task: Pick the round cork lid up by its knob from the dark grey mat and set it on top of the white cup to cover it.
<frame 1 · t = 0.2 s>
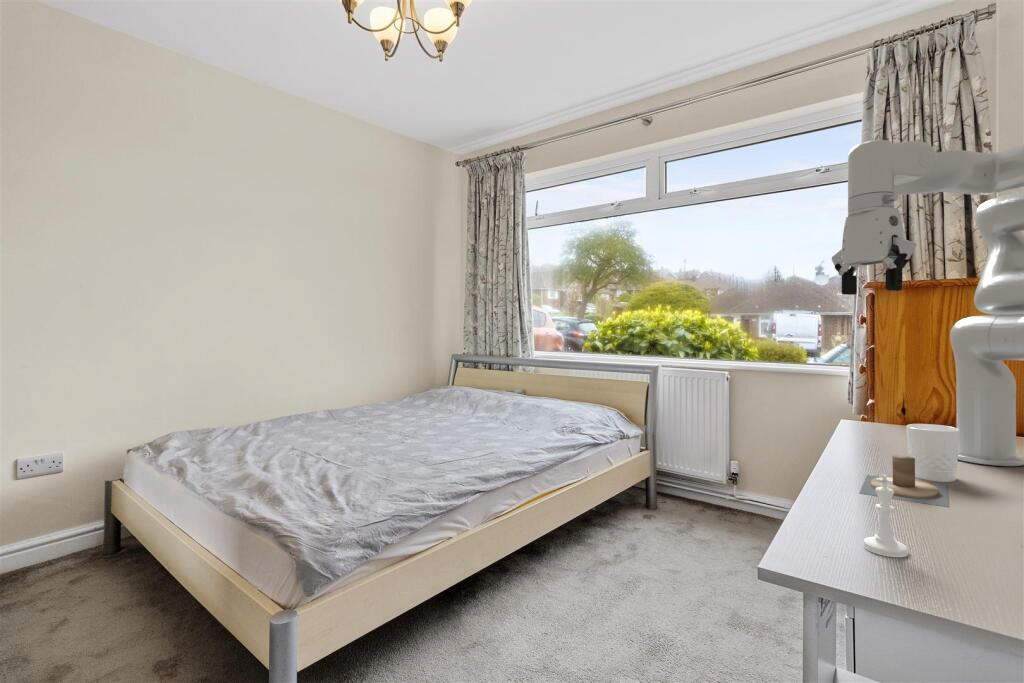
hand: (870, 292, 101), 37 cm above the table, tool pointing down, fingers open, 9 cm apart
mat: (903, 491, 91), on the table
chess piece: (885, 551, 67), on the table
lid: (903, 489, 91), resting on mat
white cup: (932, 479, 98), on the table
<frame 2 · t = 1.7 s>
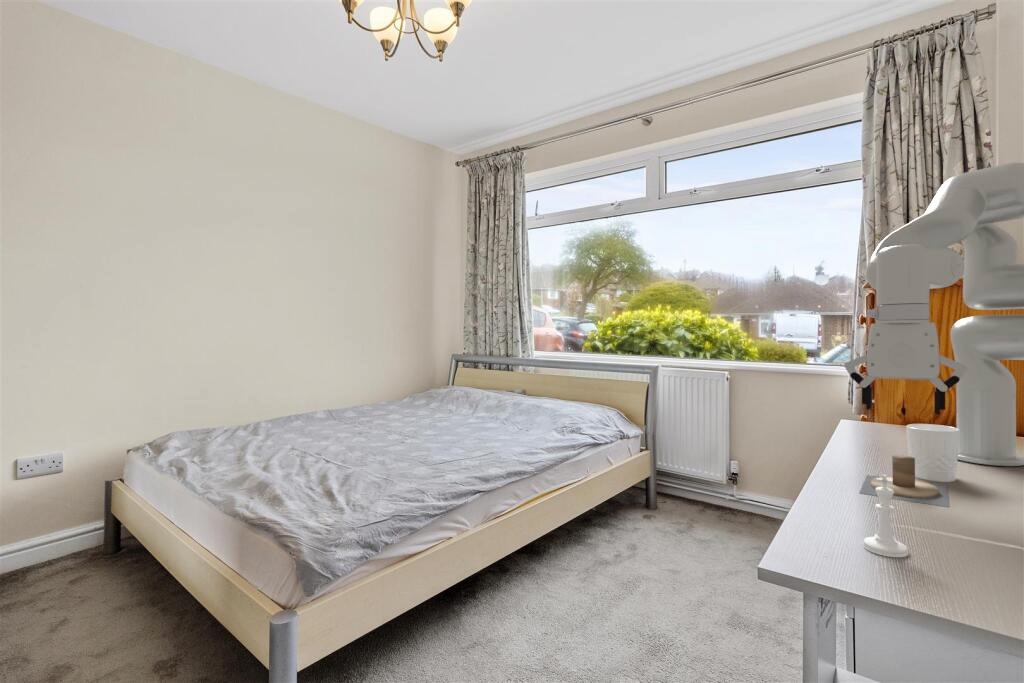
hand: (902, 411, 90), 15 cm above the table, tool pointing down, fingers open, 9 cm apart
nothing on the table moved.
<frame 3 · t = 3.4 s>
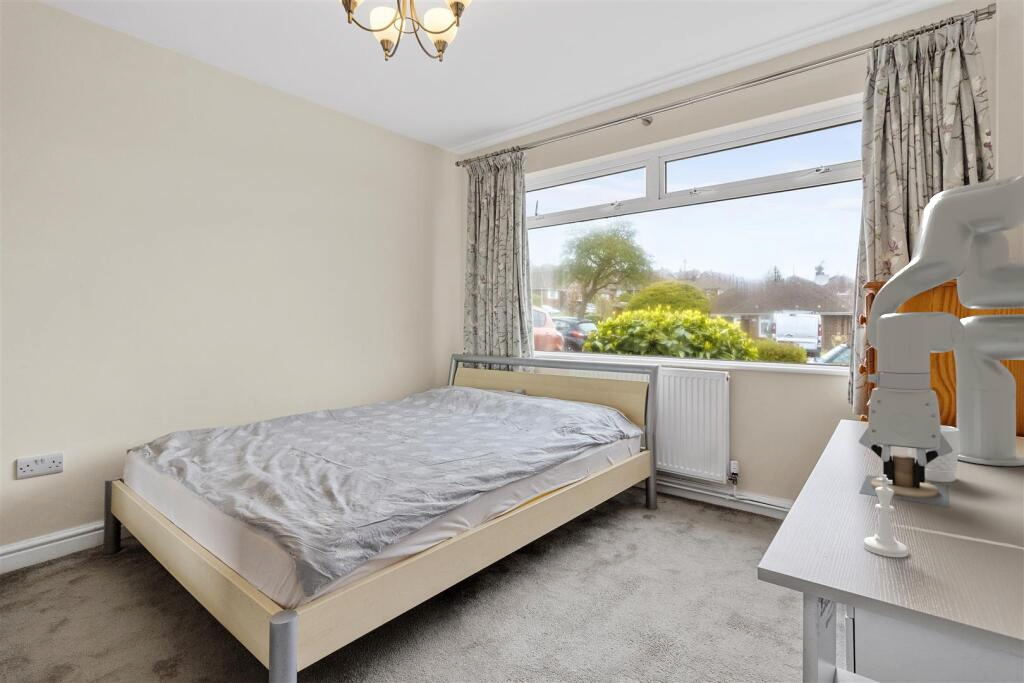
hand: (903, 483, 91), 1 cm above the table, tool pointing down, fingers closed on lid, 3 cm apart
lid: (903, 489, 91), resting on mat, touching gripper
everything else where it was.
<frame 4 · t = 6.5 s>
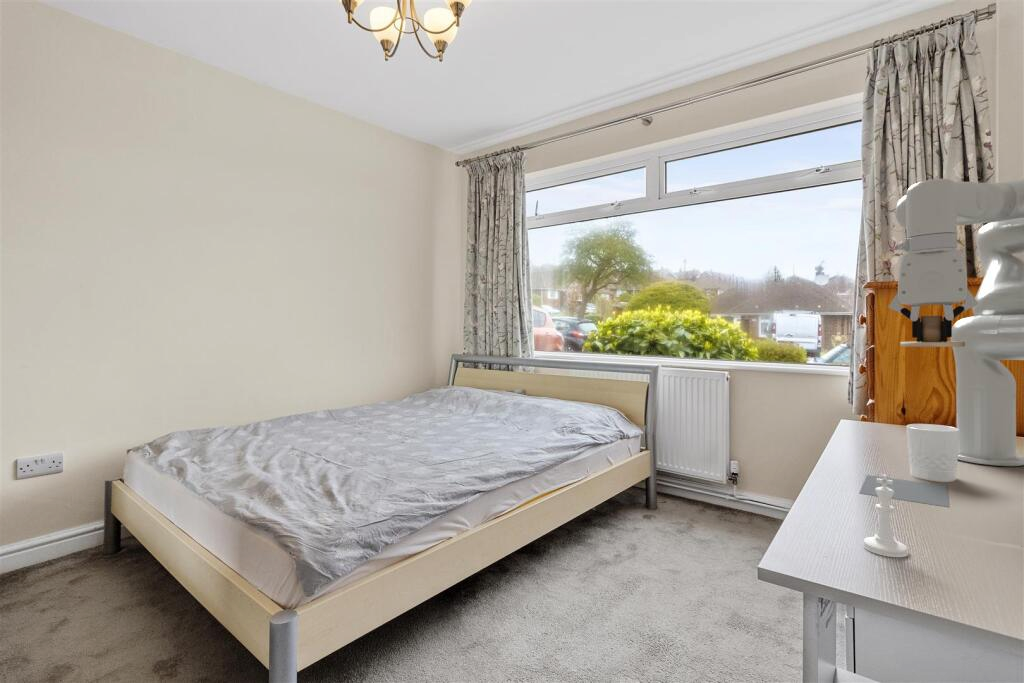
hand: (931, 340, 98), 27 cm above the table, tool pointing down, fingers closed on lid, 3 cm apart
lid: (931, 346, 97), point 26 cm above the table, touching gripper
everything else where it was.
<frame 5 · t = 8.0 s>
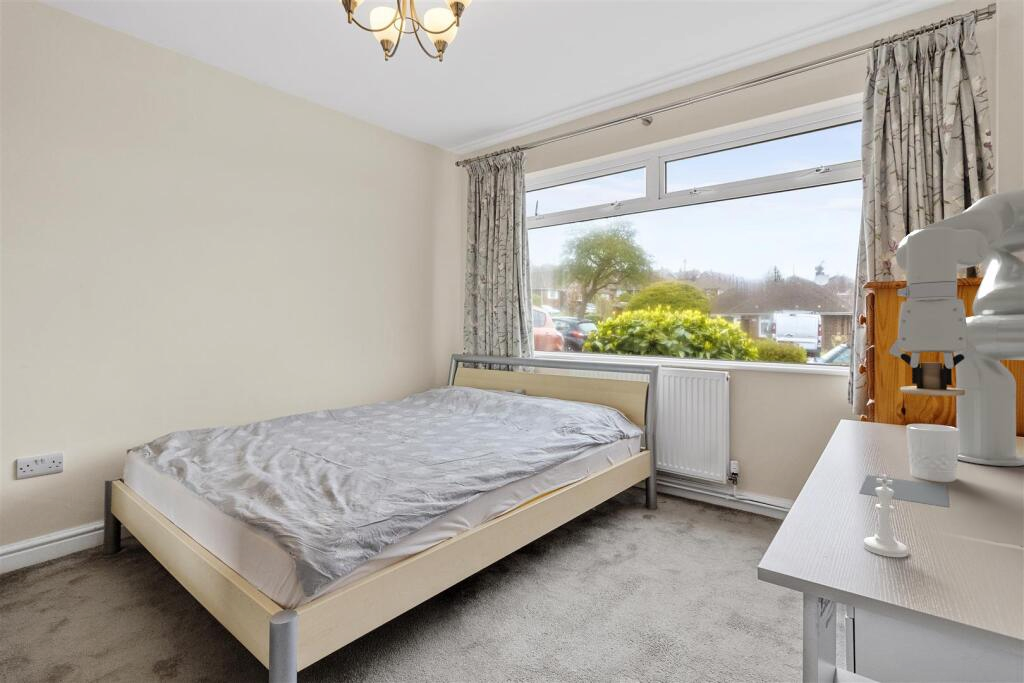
hand: (931, 387, 98), 18 cm above the table, tool pointing down, fingers closed on lid, 3 cm apart
lid: (931, 392, 98), point 17 cm above the table, touching gripper
everything else where it was.
when the fingers open (12 cm above the table, at t = 9.3 s): lid drops 1 cm, resting on white cup.
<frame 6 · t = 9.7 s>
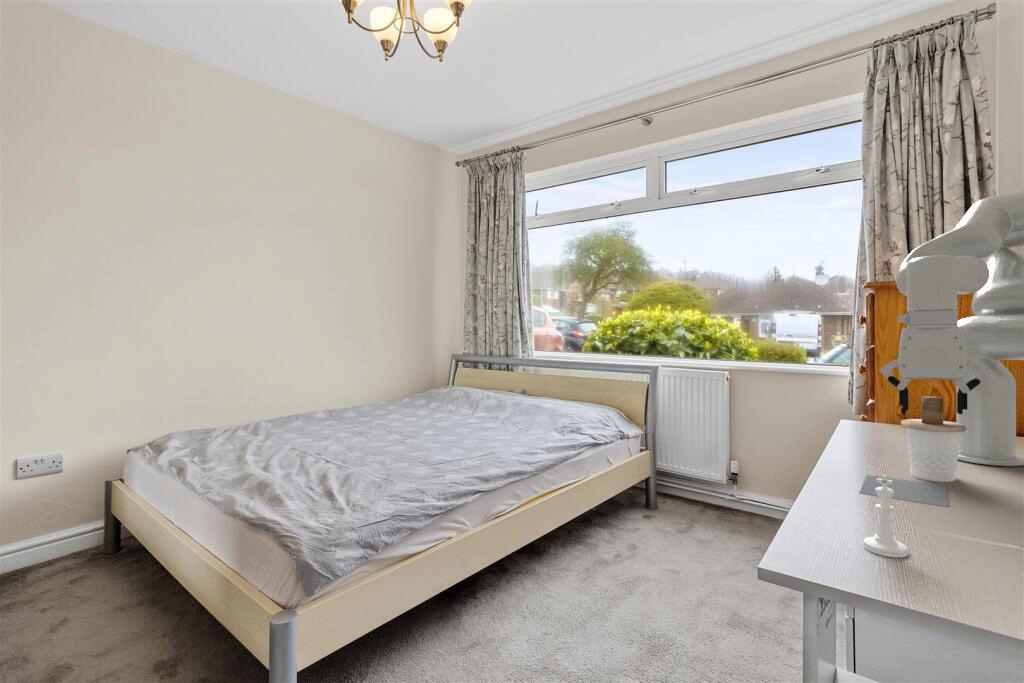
hand: (932, 410, 98), 13 cm above the table, tool pointing down, fingers open, 7 cm apart
lid: (932, 427, 98), point 10 cm above the table, touching white cup
white cup: (932, 479, 98), on the table, touching lid
everything else where it was.
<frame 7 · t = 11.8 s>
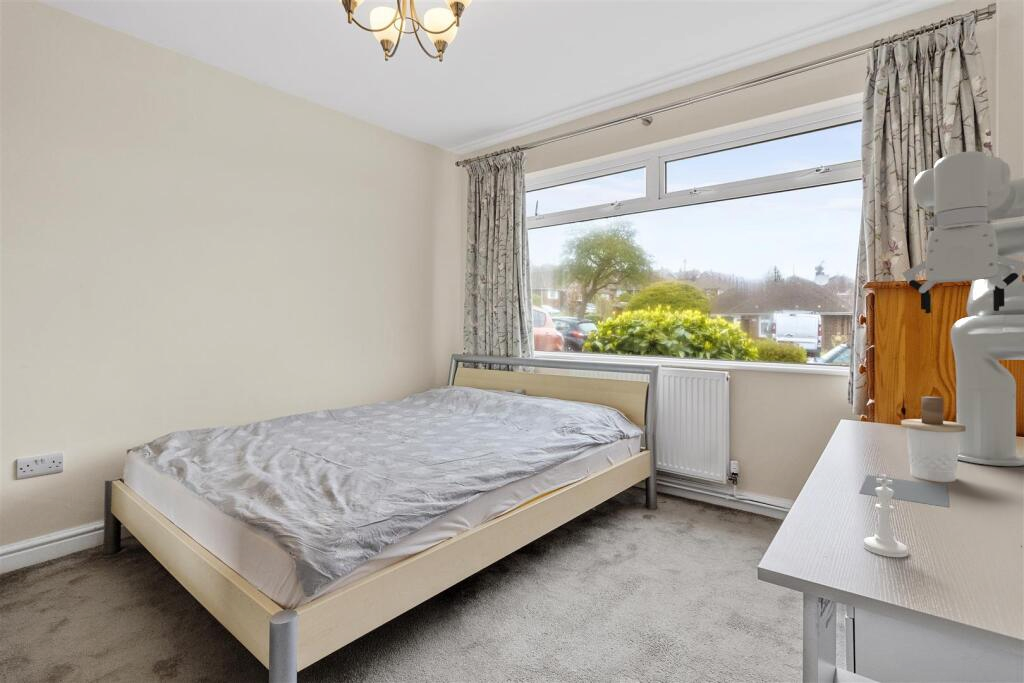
hand: (961, 312, 95), 32 cm above the table, tool pointing down, fingers open, 9 cm apart
nothing on the table moved.
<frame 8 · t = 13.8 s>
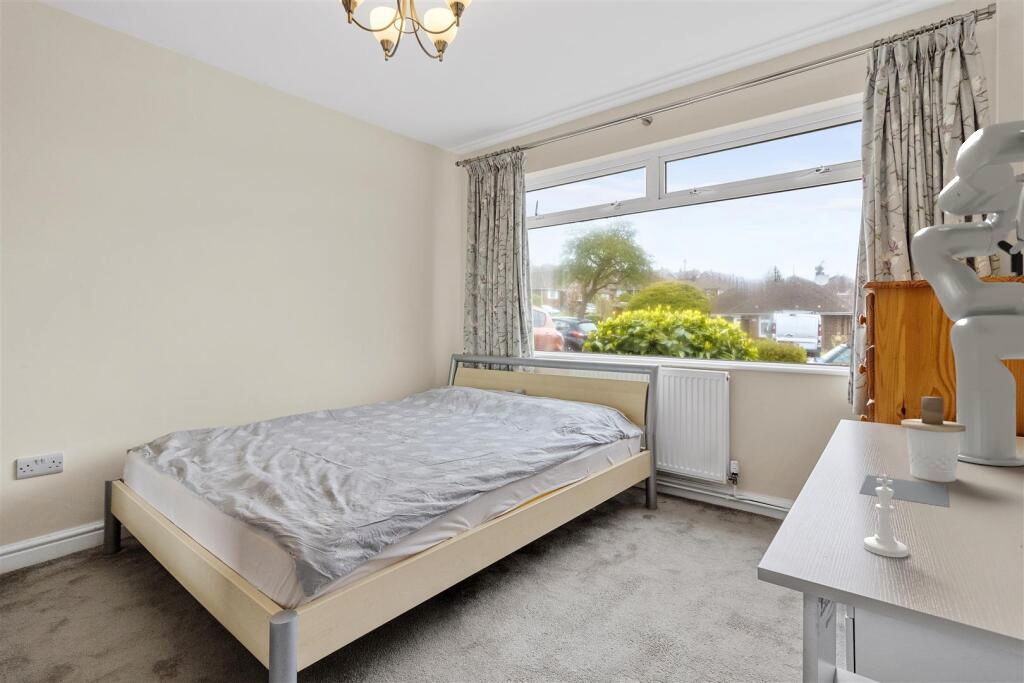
nothing on the table moved.
at the end: lid 0.0 cm from the white cup (horizontally); lid 0.0 cm off-centre on the white cup, point 10.2 cm above the white cup's base; lid tilted 0° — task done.
